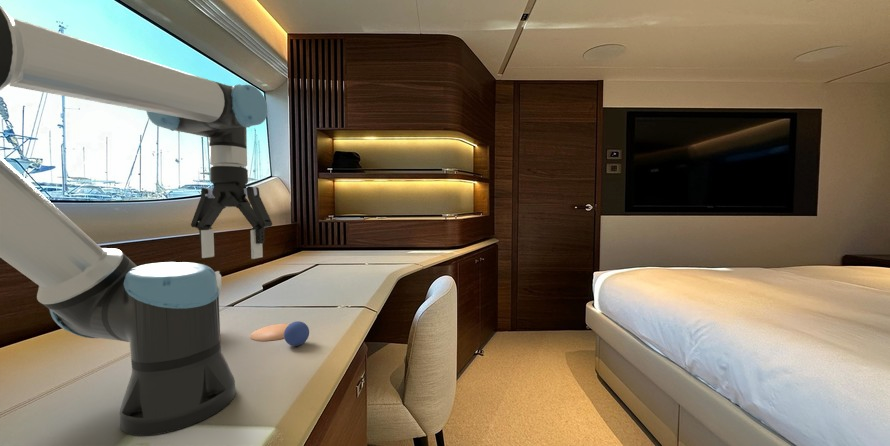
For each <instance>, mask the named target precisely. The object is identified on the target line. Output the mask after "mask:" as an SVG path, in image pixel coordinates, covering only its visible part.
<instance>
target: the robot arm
mask: <svg viewBox="0 0 890 446" xmlns="http://www.w3.org/2000/svg"><path fill="white" fill-rule="evenodd" d="M7 87H13V88H19V89H25V90H30V91H35V92H36V91H37V92H40V93H46V94H51V95H56V96H63V97H68V98H74V99H80V100H84V101H90V102H96V103H100V104H101V103H102V104H105V105H110V106H111V105H112V106H117V107H122V108H127V109H133V110H139V111H144V112H146V114H147V117H148V120H150V122H151V123H152V124H154V125H155V126H158V127H160V128H162V129H167V130H170V131H172V132H173V131H176V132H181V133H186V134H191V135H196V136H200V137H201V136H202V137H205V138H208V148H209V151H208V152H209V155H208V156H209V157H208V159H209V165H211V166H210V168H209V177H210V181H209V182H211V183H212V185H213V187H212V188H209V187H203V188H201V191H200V199H199V202H198V205H197V207H196V210H195V213H194V215H193V217H192V220H191V222H190V227H192V228H196V229H197V230H198V232H199V234H198V235H199V243H200V244H201V258H202V259H205V258H206V259H207V258H214V257H215V238H214V237H215V236H214V233H215V232H214V229H213V228H212V227H213V225H214V223H215V222H216V221H217V219H218V217H219V215H221V213H222V212H223V210H224V209H225V208H232V207H234V208H237V209H238V210H239V211H240V212H241V214H242V215H243V216H244V218H245V219H246V220H247V221H248V223H249V224H250V226H252V228H251V230H250V251H251V252H250V255H251V256H250V257H251V260H255V259H259V258H263V255H264V253H263V252H264V251H263V250H264V249H263V244H264V243H265V240H266V239H265V230H266V228H269V227H271V226H272V227H273V222H272V220H271V218H270V215H269V213H268V211H267V208H266V207H265V204H264V203H263V200H262V198H261V196H260V195H261V194H260V188H259V187H258V186H247V184H248V182H249V175H248V174H249V170H248V169H247V168H246V167H247V166H248V147H247V143H248V142H247V138H248V137H247V128H250V127H253V126H258V125H261V124H262V123H264V122H265V121H266V119H267V116H268V112H269V111H268V103H267V100H266V98H265V96H264V95H263V93H262V92H261V91H260V89H258V88H257V87H255V86H254V85H251V84H235V85H228V84H225V83H221V82H218V81H214V80H211V79H208V78H204V77H200V76H197V75H194V74H192V73H188V72H186V71H182V70H179V69H175V68H172V67H169V66H167V65H163V64H160V63H158V62H154V61H150V60H147V59H145V58H144V59H143V58H141V57H137V56H135V55H132V54H129V53H125V52H122V51H118V50H115V49H112V48H109V47H107V46H104V45H100V44H97V43H93V42H90V41H88V40H87V41H86V40H84V39H81V38H78V37H74V36H71V35H69V34H66V33H62V32H58V31H56V30H53V29H49V28H45V27H42V26H40V25H37V24H34V23H30V22H28V21H24V20H21V19H17V18H14V17H11V16H10V15H9V14H8V12H7V11H6V10H5V9H3V7H2V6H1V5H0V91H2V90H3V89H5V88H7ZM0 259H2V260H3V261H4V262H6V263H7V264H9V265H10V266H11V267H13V268H14V269H16V270H17V271H18V272H20V273H21V274H22V275H24V276H26V278H28V279H30V280H31V281H32V282H33V283H35V284H36V285H38V288H37V289H38V290H37V293H36V300H37V301H38V302H39V303H40V304H41V305H43V306H45V307H46V308H47V309H48V310H49V314H50V315H51V318H52V320H53V321H54V323H56V324H57V326H59V327H60V328H61V329H63V330H65V331H67V332H69V333H70V334H72V335H76V336H79V337H81V338H87V339H88V338H89V339H104V340H111V341H118V342H119V341H121V342H126V343H129V345H130V346H129V347H130V350H129V351H130V359H131V375H130V377H129V379H128V380H129V381H128V384H127V387H126V390H125V393H124V396H123V399H122V402H121V404H120V405H121V406H120V408H119V425H120V429H121V431H123V432H124V433H126V434H129V435H132V436H133V435H134V436H152V435H158V434H159V435H160V434H165V433H169V432H173V431H177V430H180V429H181V430H182V429H185V428H187V427H189V426H193V425H195V424H197V423H199V422H201V421H203V420H206V419H208V418H210V417H212V416H214V415H215V414H217V413H219V412H220V411H221V410H223V409H224V408H225V407H227V406H228V405H229V404H230V403H231V402H232V400H234V398H235V396H236V380H235V377H234V375H233V372H232V371H231V368H230V367H229V365H228V362H227V360H226V358H225V356H224V354H223V353H222V351H223V350H222V345H221V322H220V321H221V319H220V294H219V288H218V286H217V280H216V274H215V272H216V271H215V270H213V268H211V267H210V266H208V265H206V264H204V263H203V264H202V263H197V262H190V261H189V262H188V261H182V262H181V261H180V262H176V261H164V262H152V263H145V264H141V265H138V266H137V264H136V263H135V262H133V261H132V260H131V259H130V258H129V257H128V256H127V255H126V254H125V253H124V252H123V251H122V250H120V249H118V248H107V247H101V246H100V245H98V243H96V242H95V240H93V239H92V238H91V237H90V236H89V235H88V234H86V233H85V232H84V231H83V230H82V228H80V227H79V226H78V225H77V224H76V223H75V222H73V220H71V219H70V218H69V217H68V216H67V215H66V214H65V213H63V211H62V210H60V209H59V208H58V207H57V206H55V204H54V203H53V202H51V201H50V200H49V199H48V198H47V197H46V196H45V195H44V194H43V193H42V192H41V191H40V190H38V188H36V187H35V186H34V185H33V184H32V183H31V182H30V181H28V180H27V179H26V178H25V177H24V176H23V175H22V174H21V173H20V172H19V171H18V170H16V169H15V168H14V166H12V165H11V164H10V163H9V162H7V160H5V159H4V158H3V157H2V156H1V155H0Z"/></svg>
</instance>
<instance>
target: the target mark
mask: <svg viewBox="0 0 890 446" xmlns="http://www.w3.org/2000/svg"><path fill="white" fill-rule="evenodd" d="M291 323H292V322H291ZM291 323H290V322H287V323H278V324H277V323H276V324H271V325H268V326H264V327H261V328H259V329H256V330H254V331H253V332H251V334H250V339H251V340H253V341H256V342H257V341H258V342H270V341H279V340H283V339H284V331H285V329H286V327H287V326H288V325H289V324H291Z"/></svg>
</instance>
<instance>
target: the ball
mask: <svg viewBox="0 0 890 446" xmlns="http://www.w3.org/2000/svg"><path fill="white" fill-rule="evenodd" d="M309 336H310V329H309V327H308V324H306V323H305V322H303V321H300V320H299V321H296V320H295V321H293V322H291V324H289V325H288V326H287V327H286V329H285V331H284V338H283V339H284V341H285V342H286V343H287V344H288V345H290V346H292V347H296V346H301V345H303V344H305V342H306V341H307V340H308V338H309Z"/></svg>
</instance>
